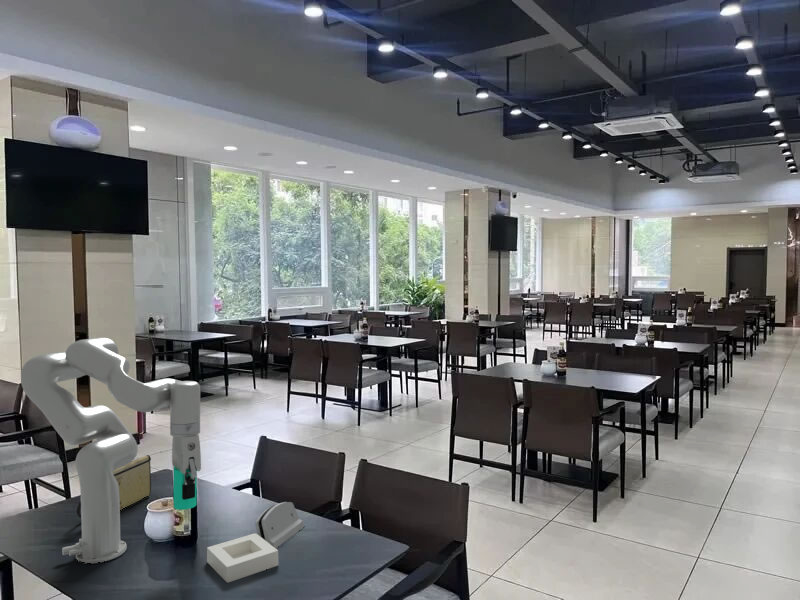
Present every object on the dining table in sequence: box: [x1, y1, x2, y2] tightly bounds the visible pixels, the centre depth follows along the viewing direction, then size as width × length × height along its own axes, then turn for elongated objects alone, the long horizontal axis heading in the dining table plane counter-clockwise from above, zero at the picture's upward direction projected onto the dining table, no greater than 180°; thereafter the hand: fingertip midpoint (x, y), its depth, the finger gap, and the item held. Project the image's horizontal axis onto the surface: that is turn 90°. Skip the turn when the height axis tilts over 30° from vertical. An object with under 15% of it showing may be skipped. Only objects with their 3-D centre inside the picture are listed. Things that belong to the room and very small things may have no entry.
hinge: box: [255, 501, 305, 549], centre depth 171 cm, size 17×5×10 cm, turn 159°
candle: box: [173, 466, 198, 511], centre depth 154 cm, size 6×6×12 cm
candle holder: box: [206, 532, 279, 584], centre depth 153 cm, size 14×14×4 cm
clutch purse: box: [76, 454, 152, 519], centre depth 191 cm, size 30×7×15 cm, turn 164°
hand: (185, 494), depth 154 cm, fingers closed on candle, 4 cm apart
